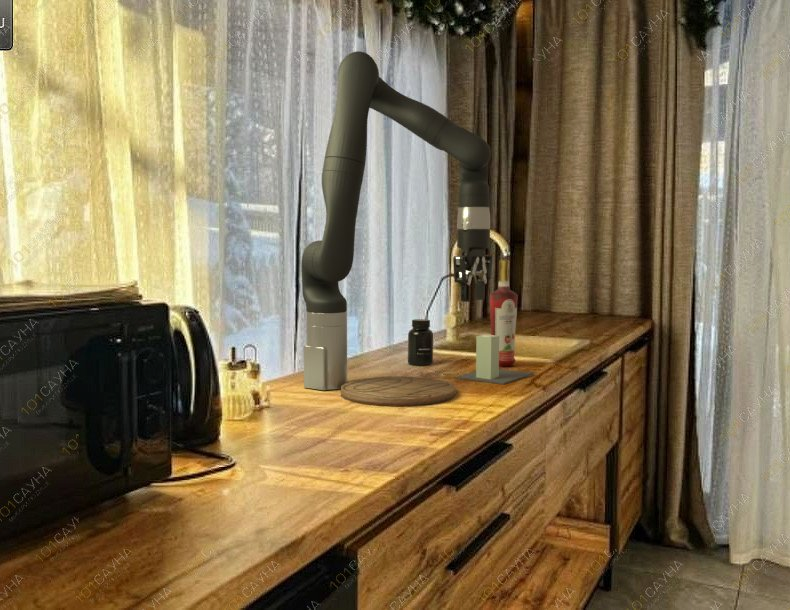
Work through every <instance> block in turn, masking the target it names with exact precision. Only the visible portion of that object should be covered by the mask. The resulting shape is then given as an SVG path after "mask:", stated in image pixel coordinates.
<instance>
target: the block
mask: <svg viewBox="0 0 790 610" xmlns="http://www.w3.org/2000/svg"><path fill="white" fill-rule="evenodd" d="M475 340H476V341H475V342H476V343H475V345H476V347H475V353H476V354H475V361H476V362H475V364H476V365H475V371H476V378H484V379H493V378H496V377H499V369H500V367H499V336H496V335H491V334H481V335H476V337H475Z"/></svg>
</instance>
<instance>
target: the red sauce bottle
mask: <svg viewBox="0 0 790 610" xmlns="http://www.w3.org/2000/svg"><path fill="white" fill-rule="evenodd" d="M498 269H499V276H498V285H497V289H496V290H494V291H493V292H491V293H490V294H489V313H490V314H489V316H490V318H489V319H490V335H496V336H499V368H509V367H511V366H513V365H514V364H515V363H516V359H515V349H516V348H515V345H516V344H515V343H516V342H515V341H516V330H517V329H516V327H517V316H518V315H517V313H518V311H517V310H518V299H519V298H518V296H519V295H518V294H517V293H516V292H515V291H513V290H511V289H510V280H509V279H510V278H509V269H510V260H508V259H504V260H503V259H499V261H498Z"/></svg>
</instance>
